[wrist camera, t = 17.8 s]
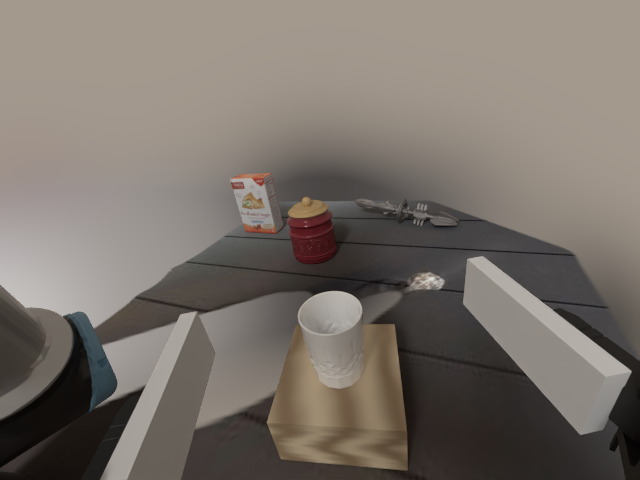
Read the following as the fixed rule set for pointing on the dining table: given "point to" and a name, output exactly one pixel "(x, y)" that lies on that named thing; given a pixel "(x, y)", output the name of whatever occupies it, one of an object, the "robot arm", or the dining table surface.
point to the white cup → (334, 337)
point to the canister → (311, 231)
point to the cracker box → (257, 202)
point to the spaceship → (409, 212)
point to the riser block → (343, 408)
